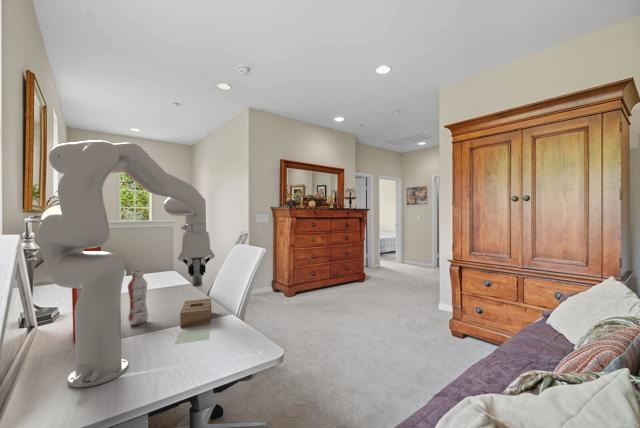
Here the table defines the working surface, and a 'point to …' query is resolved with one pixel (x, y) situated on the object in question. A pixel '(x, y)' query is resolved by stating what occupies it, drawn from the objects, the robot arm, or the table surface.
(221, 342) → the table surface
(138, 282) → the plastic bottle
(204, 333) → the mat
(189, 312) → the hole block
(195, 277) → the peg
